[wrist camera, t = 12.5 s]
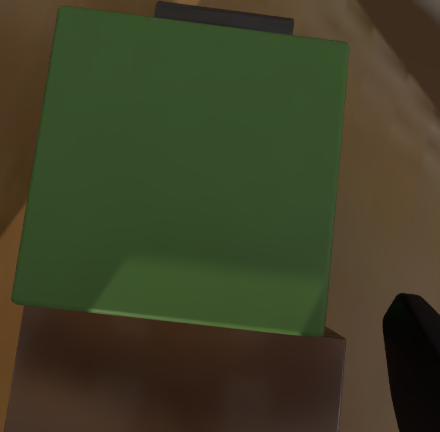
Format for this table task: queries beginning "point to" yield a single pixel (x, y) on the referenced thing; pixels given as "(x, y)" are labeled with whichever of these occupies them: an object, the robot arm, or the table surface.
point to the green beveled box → (185, 174)
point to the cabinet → (169, 377)
